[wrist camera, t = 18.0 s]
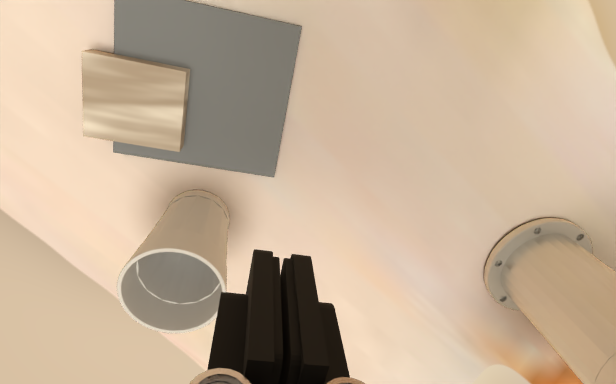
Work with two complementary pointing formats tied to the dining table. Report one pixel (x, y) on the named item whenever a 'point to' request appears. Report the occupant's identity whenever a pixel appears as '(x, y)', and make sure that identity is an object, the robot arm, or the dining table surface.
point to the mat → (216, 79)
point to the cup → (179, 266)
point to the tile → (134, 100)
